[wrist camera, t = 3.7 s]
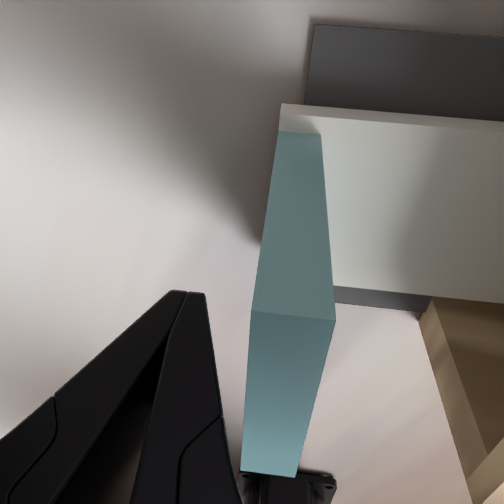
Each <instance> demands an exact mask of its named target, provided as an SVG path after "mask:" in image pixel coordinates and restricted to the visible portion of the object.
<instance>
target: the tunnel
mask: <svg viewBox="0 0 504 504" xmlns="http://www.w3.org/2000/svg"><path fill="white" fill-rule="evenodd" d="M418 323H419V326H420V329H421V333H422V336H423V339H424V343H425V346H426V349H427V353H428V356H429V359H430V363H431V366H432V369H433V373H434V376H435V379H436V383H437V386H438V389H439V393H440V396H441V399H442V403H443V406H444V409H445V413H446V416H447V419H448V423H449V426H450V429H451V433H452V436H453V439H454V443H455V446H456V449H457V453H458V456H459V459H460V463H461V466H462V469H463V473H464V476H465V479H466V483H467V486H468V489H469V493H470V496H471V499H472V503H473V504H504V304H501V303H492V302H483V301H474V300H465V299H455V298H446V297H437V296H433V297H432V299H431V301H430V304H429V306H428V308H427V310H426V312H425V313H424V312H423V313H422V315H421V318H420V320H419V322H418Z"/></svg>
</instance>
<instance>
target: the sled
mask: <svg viewBox="0 0 504 504" xmlns="http://www.w3.org/2000/svg"><path fill="white" fill-rule="evenodd" d="M333 285H336V286H345V287H354V288H363V289H372V290H382V291H391V292H400V293H409V294H419V295H428V296H437V297H446V298H455V299H465V300H474V301H483V302H492V303H501V304H504V122H500V121H488V120H476V119H464V118H452V117H440V116H428V115H416V114H405V113H393V112H381V111H369V110H357V109H345V108H333V107H321V106H309V105H297V104H285V103H281V110H280V118H279V129H278V136H277V143H276V150H275V156H274V163H273V169H272V176H271V183H270V189H269V196H268V203H267V209H266V216H265V222H264V229H263V236H262V242H261V249H260V256H259V262H258V269H257V275H256V282H255V289H254V295H253V302H252V309H251V321H250V335H249V350H248V364H247V379H246V394H245V408H244V423H243V438H242V452H241V467H240V470H242V471H249V472H256V473H264V474H271V475H279V476H286V477H293V478H295V476H296V472H297V468H298V464H299V460H300V457H301V453H302V449H303V445H304V441H305V437H306V434H307V430H308V426H309V422H310V418H311V414H312V411H313V407H314V403H315V399H316V395H317V391H318V388H319V384H320V380H321V376H322V372H323V368H324V365H325V361H326V357H327V353H328V349H329V345H330V342H331V338H332V334H333V330H334V326H335V322H336V314H335V301H334V289H333Z"/></svg>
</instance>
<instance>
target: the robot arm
mask: <svg viewBox="0 0 504 504" xmlns="http://www.w3.org/2000/svg"><path fill="white" fill-rule="evenodd" d="M336 489H337V484H336V480H335V479H333V478H328V477H321V476H313V475H306V474H298V473H296V476H295V478H293V477H286V476H279V475H271V474H264V473H256V472H249V471H242V470H240V468H239V474H238V484H237V480H236V476H235V473H234V469H233V465H232V461H231V456H230V451H229V445H228V440H227V434H226V428H225V421H224V418H223V409H222V403H221V396H220V389H219V383H218V376H217V369H216V363H215V356H214V349H213V343H212V336H211V330H210V323H209V316H208V310H207V303H206V297H205V294H204V293H200V292H191V291H190V292H187V291H181V290H170V291H169V292H168V293H167V294H165V295H164V296H163V297H162V298H161V299H160V300H159V301H158V302H156V303H155V304H154V305H153V306H152V307H151V308H150V309H149V310H147V311H146V312H145V313H144V314H143V315H142V316H141V317H140V318H138V319H137V320H136V321H135V322H134V323H133V324H132V325H131V326H129V327H128V328H127V329H126V330H125V331H124V332H123V333H122V334H121V335H119V336H118V337H117V338H116V339H115V340H114V341H113V342H112V343H110V344H109V345H108V346H107V347H106V348H105V349H104V350H103V351H101V352H100V353H99V354H98V355H97V356H96V357H95V358H94V359H92V360H91V361H90V362H89V363H88V364H87V365H86V366H85V367H84V368H82V369H81V370H80V371H79V372H78V373H77V374H76V375H75V376H73V377H72V378H71V379H70V380H69V381H68V382H67V383H66V384H64V385H63V386H62V387H61V388H60V389H59V390H58V391H57V392H55V394H54V396H51V397H50V398H49V399H47V400H46V401H45V402H44V403H43V404H42V405H41V406H40V407H38V408H37V409H36V410H35V411H34V412H33V413H32V414H30V415H29V416H28V417H27V418H26V419H24V420H23V421H22V422H21V423H20V424H19V425H17V426H16V427H15V428H14V429H13V430H12V431H10V432H9V433H8V434H7V435H5V436H4V437H3V438H1V439H0V504H330V503H331V501H332V499H333V496H334V494H335V492H336Z"/></svg>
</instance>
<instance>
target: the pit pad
mask: <svg viewBox="0 0 504 504" xmlns="http://www.w3.org/2000/svg"><path fill="white" fill-rule="evenodd" d="M304 105H309V106H321V107H333V108H345V109H357V110H369V111H381V112H393V113H405V114H416V115H428V116H440V117H452V118H464V119H476V120H488V121H500V122H504V38H501V37H487V36H473V35H460V34H446V33H432V32H418V31H405V30H391V29H377V28H363V27H350V26H336V25H322V24H314V32H313V40H312V48H311V56H310V64H309V72H308V79H307V87H306V95H305V103H304ZM333 289H334V301H335V303H343V304H352V305H361V306H370V307H379V308H388V309H397V310H406V311H415V312H424V313H425V312H426V310H427V308H428V306H429V304H430V301H431V299H432V297H433V296H428V295H419V294H409V293H400V292H391V291H382V290H372V289H363V288H354V287H345V286H336V285H333Z"/></svg>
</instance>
